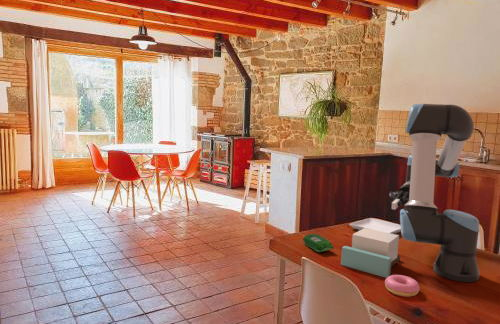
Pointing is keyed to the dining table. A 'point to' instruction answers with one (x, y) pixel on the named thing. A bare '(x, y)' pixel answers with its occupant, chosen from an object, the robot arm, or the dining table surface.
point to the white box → (376, 242)
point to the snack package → (317, 242)
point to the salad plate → (377, 225)
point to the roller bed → (395, 261)
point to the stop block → (366, 261)
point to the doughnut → (402, 285)
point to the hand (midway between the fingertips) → (393, 206)
